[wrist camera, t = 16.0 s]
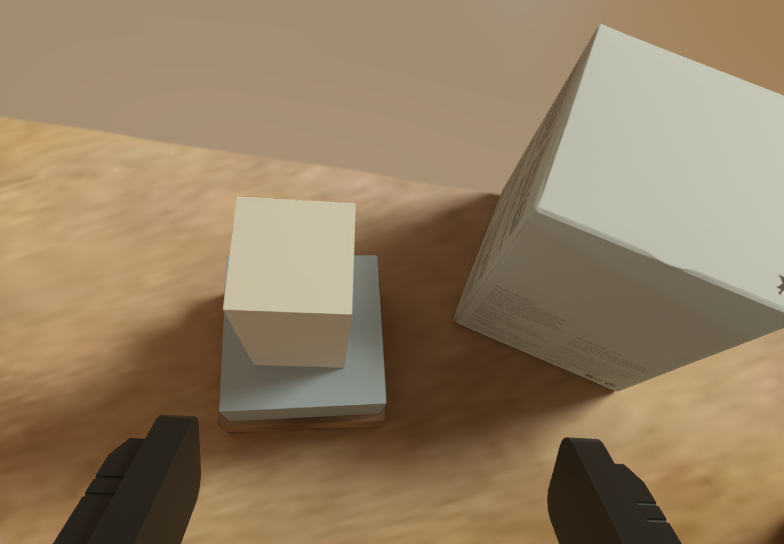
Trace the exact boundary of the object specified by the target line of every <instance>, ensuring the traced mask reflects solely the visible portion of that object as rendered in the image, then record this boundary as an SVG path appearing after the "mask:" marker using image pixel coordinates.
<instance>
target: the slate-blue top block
mask: <svg viewBox="0 0 784 544" xmlns="http://www.w3.org/2000/svg"><path fill="white" fill-rule="evenodd" d="M228 265H229V257H227V261H226V281H227V273H228ZM226 281H225V289H226ZM385 405H386V387H385V371H384V355H383V339H382V322H381V306H380V290H379V274H378V257H377V255H354V270H353V299H352V318H351V325H350V332H349V339H348V346H347V353H346V361H345V368H331V367H297V366H262V365H254V364H253V363H252V361H251V359H250V357H249V355H248V354H247V352H246V350H245V348H244V346H243V345H242V343H241V341H240V339H239V337H238V336H237V334H236V332H235V330H234V329H233V327H232V325H231V323H230V321H229V320H228V318H227V316H226V314H225V312H224V322H223V342H222V363H221V383H220V403H219V412H220V413H221V414H222V415H224V416H225V417H226V418H227V419H228V420H229V421H248V420H267V419H287V418H306V417H325V416H344V415H364V414H380V412H381V411H382V409H383V408H384V406H385Z"/></svg>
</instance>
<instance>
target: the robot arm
mask: <svg viewBox="0 0 784 544" xmlns="http://www.w3.org/2000/svg"><path fill="white" fill-rule="evenodd" d="M200 480H201V463H200V443H199V424H198V419H197V417H195V416H176V415H159V416H158V417H157V419H156V421H155V422H154V424H153V426H152V428H151V429H150V431H149V433H148V435H147V437H146V438H145V439H136V438H129V439H128V440H127V441H126V442H124V443H123V444H122V445H121V446H119V447H118V448H117V449H115V450H114V451H113V452H112V453H110V454H109V455H108V457H107V458H106V460H105V461H104V463H103V465H102V466H101V468H100V469H99V471H98V473H97V474H96V478H95V479H93V481H92V482H91V484H90V485H89V487H88V489H87V490H86V492H85V496H84V497H82V498H81V500H80V501H79V503H78V505H77V506H76V508H75V509H74V511H73V513H72V514H71V516H70V517H69V519H68V521H67V522H66V524H65V525H64V527H63V529H62V530H61V532H60V533H59V535H58V537H57V538H56V540H55V541H54V543H53V544H181V542H182V539H183V536H184V534H185V531H186V528H187V526H188V523H189V520H190V518H191V515H192V512H193V510H194V507H195V504H196V501H197V498H198V493H199V488H200ZM547 503H548V512H549V517H550V520H551V523H552V526H553V528H554V531H555V534H556V536H557V539H558V542H559V544H682V543H681V542H680V540H679V539H678V537H677V535H676V534H675V532H674V530H673V529H672V527H671V526H670V524H669V523H667V522H666V517H665V516H664V514H663V513H662V511H661V509H660V508H659V506H656V501H655V500H654V498H653V496H652V495H651V493H650V492H649V490H648V488H647V487H646V485H645V483H644V482H643V481H642V480H641V479H640V478H639V477H637V476H636V475H635V474H634V473H633V472H632V471H631V470H630V469H629V468H627V467H626V466H625V465H624V464H615V463H614V462H613V460H612V458H611V456H610V455H609V453H608V451H607V449H606V448H605V446H604V444H603V443H602V442H601V441H600V440H599V439H585V438H564V439H563V440H562V442H561V444H560V447H559V451H558V455H557V459H556V462H555V466H554V470H553V474H552V478H551V481H550V485H549V489H548V497H547Z"/></svg>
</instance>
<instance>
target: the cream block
mask: <svg viewBox="0 0 784 544" xmlns="http://www.w3.org/2000/svg"><path fill="white" fill-rule="evenodd" d="M355 211H356V203H339V202H322V201H305V200H288V199H270V198H253V197H237V201H236V209H235V217H234V225H233V233H232V241H231V249H230V257H229V265H228V273H227V281H226V289H225V297H224V305H223V311H224V312H225V314H226V316H227V318H228V320H229V321H230V323H231V325H232V327H233V329H234V330H235V332H236V334H237V336H238V337H239V339H240V341H241V343H242V345H243V346H244V348H245V350H246V352H247V354H248V355H249V357H250V359H251V361H252V363H253V364H254V365H262V366H297V367H331V368H345V361H346V353H347V346H348V339H349V332H350V325H351V318H352V299H353V270H354V241H355Z"/></svg>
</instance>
